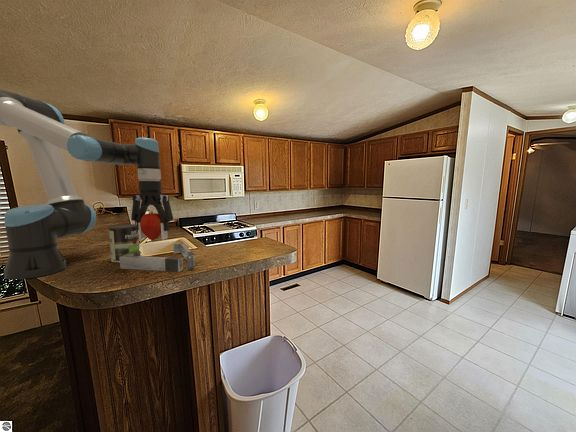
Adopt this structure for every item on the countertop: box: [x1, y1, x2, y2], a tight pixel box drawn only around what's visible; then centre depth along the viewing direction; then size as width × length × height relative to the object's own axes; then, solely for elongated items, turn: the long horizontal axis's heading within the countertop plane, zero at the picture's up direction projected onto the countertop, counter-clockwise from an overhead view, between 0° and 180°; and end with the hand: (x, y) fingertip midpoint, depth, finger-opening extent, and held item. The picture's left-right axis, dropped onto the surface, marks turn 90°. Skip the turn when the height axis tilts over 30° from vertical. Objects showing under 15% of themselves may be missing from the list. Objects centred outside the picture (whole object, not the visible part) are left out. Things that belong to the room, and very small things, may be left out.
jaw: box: [172, 242, 196, 266], centre depth 101 cm, size 23×4×4 cm, turn 34°
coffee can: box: [107, 223, 141, 264], centre depth 99 cm, size 10×10×14 cm
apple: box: [140, 212, 162, 241], centre depth 93 cm, size 9×8×11 cm
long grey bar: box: [119, 254, 195, 273], centre depth 89 cm, size 27×5×5 cm, turn 84°
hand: (153, 238), depth 93 cm, fingers closed on apple, 8 cm apart
